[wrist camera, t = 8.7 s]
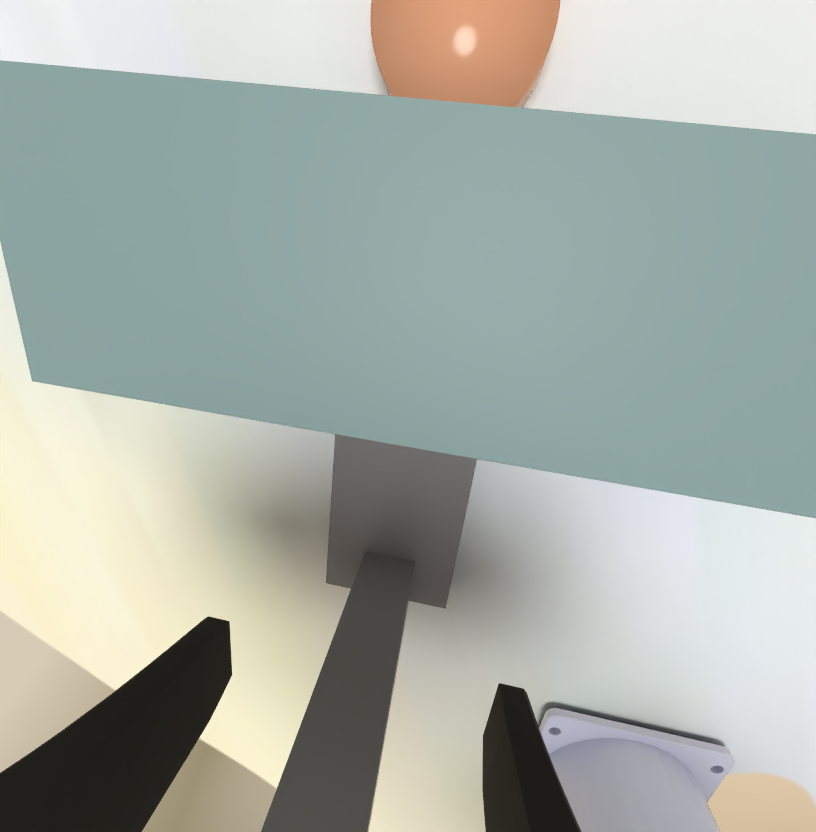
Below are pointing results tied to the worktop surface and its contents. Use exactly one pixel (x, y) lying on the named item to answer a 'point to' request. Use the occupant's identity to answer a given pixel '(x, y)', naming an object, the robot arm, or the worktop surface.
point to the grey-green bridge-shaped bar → (424, 273)
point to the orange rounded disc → (463, 48)
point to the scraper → (370, 621)
